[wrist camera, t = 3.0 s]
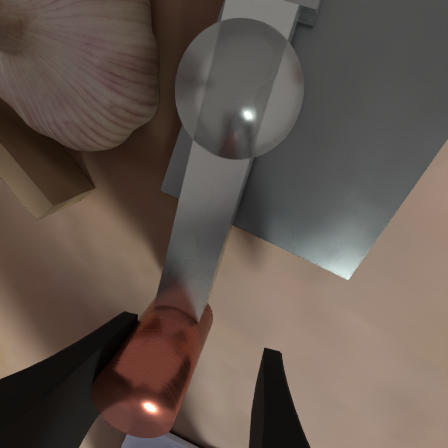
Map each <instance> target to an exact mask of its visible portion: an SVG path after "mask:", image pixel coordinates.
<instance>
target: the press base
mask: <svg viewBox="0 0 448 448" xmlns="http://www.w3.org/2000/svg"><path fill="white" fill-rule="evenodd" d="M225 1H226V0H224V1H223V4H222V7H221V10H220V13H219V16H218V19H217V22H216V23H218V22H220V21H221V18H222V14H223V10H224V6H225ZM291 46H292V47H293V49H294V51H295V53H296V54H297V56H298V59H299V62H300V65H301V68H302V73H303V80H304V95H303V102H302V106H301V110H300V113H299V116H298V118H297V120H296V122H295V124H294V126H293V128H292V129H291V131H290V132H289V133H288V135H287V136H286V137H285V138H284V139H283V140H282V141H281V142H280V143H279V144H278V145H277V146H276V147H274V148H273V149H271V150H270V151H268V152H266V153H264V154H262V155H260V156H257V157H254V160H253V163H252V166H251V169H250V172H249V175H248V178H247V182H246V185H245V188H244V191H243V194H242V197H241V200H240V203H239V207H238V210H237V213H236V216H235V219H234V222H233V225H234V226H236V227H238V228H240V229H242V230H244V231H247V232H249V233H251V234H253V235H255V236H257V237H259V238H261V239H263V240H265V241H268V242H270V243H272V244H274V245H276V246H278V247H280V248H282V249H284V250H287V251H289V252H291V253H293V254H295V255H297V256H299V257H301V258H303V259H305V260H308V261H310V262H312V263H314V264H316V265H318V266H320V267H322V268H324V269H327V270H329V271H331V272H333V273H335V274H337V275H339V276H341V277H343V278H345V279H348V280H349V278H350V277H351V275H352V274H353V272H354V271H355V270H356V268H357V267H358V265H359V264H360V262H361V261H362V260H363V258H364V257H365V255H366V254H367V253H368V251H369V250H370V248H371V247H372V245H373V244H374V243H375V241H376V240H377V238H378V237H379V236H380V234H381V233H382V231H383V230H384V228H385V227H386V226H387V224H388V223H389V221H390V220H391V218H392V217H393V216H394V214H395V213H396V211H397V210H398V209H399V207H400V206H401V204H402V203H403V201H404V200H405V199H406V197H407V196H408V194H409V193H410V191H411V190H412V189H413V187H414V186H415V184H416V183H417V182H418V180H419V179H420V177H421V176H422V174H423V173H424V172H425V170H426V169H427V167H428V166H429V164H430V163H431V162H432V160H433V159H434V157H435V156H436V155H437V153H438V152H439V150H440V149H441V147H442V146H443V145H444V143H445V142H446V140H447V139H448V0H322V2H321V5H320V8H319V11H318V14H317V17H316V19H315V22H314V25H313V26H311V25H307V24H304V23H300V22H297V25H296V28H295V31H294V34H293V37H292V41H291ZM192 143H193V139H192V138H191V136H190V135H189V134H188V132H187V131H186V129H185V128H184V126H183V124H182V126H181V129H180V132H179V135H178V138H177V141H176V144H175V147H174V150H173V153H172V156H171V159H170V162H169V165H168V168H167V171H166V174H165V177H164V180H163V183H162V186H161V189H160V191H162V192H164V193H167V194H169V195H171V196H173V197H175V198H177V199H179V198H180V194H181V190H182V185H183V181H184V177H185V173H186V168H187V164H188V160H189V155H190V151H191V147H192Z"/></svg>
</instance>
